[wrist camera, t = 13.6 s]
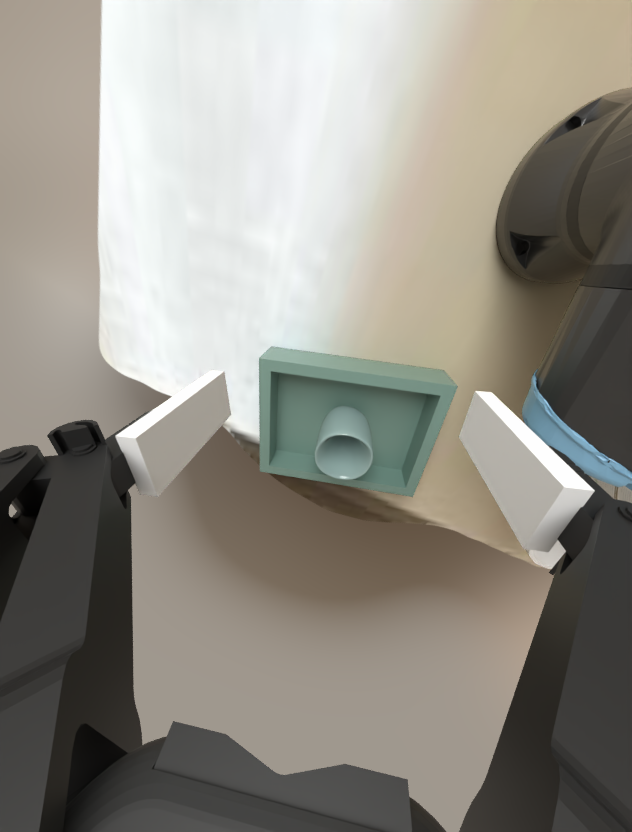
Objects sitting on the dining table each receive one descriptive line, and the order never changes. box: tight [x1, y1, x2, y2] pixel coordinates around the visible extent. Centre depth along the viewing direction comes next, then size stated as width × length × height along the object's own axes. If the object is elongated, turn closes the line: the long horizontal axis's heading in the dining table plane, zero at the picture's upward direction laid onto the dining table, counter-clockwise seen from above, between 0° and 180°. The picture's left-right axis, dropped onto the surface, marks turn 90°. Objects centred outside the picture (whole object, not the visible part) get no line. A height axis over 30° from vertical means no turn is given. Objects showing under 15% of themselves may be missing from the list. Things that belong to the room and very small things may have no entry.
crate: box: [259, 347, 458, 497], centre depth 42 cm, size 26×20×6 cm
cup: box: [315, 406, 373, 480], centre depth 39 cm, size 8×8×10 cm
